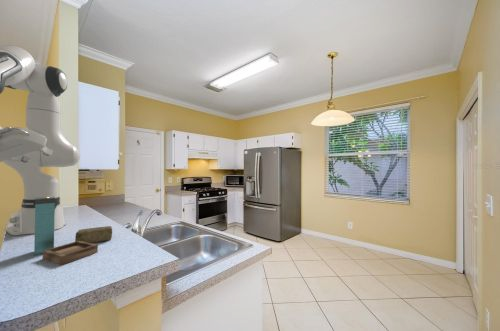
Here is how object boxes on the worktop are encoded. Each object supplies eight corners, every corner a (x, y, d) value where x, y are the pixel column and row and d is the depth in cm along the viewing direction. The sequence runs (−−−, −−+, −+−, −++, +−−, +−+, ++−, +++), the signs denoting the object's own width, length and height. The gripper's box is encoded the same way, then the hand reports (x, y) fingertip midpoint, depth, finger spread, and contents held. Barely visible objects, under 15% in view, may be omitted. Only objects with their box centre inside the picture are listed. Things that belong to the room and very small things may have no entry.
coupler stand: (42, 259, 65) (42, 250, 65) (78, 247, 74) (78, 240, 74) (62, 265, 61) (62, 256, 61) (97, 252, 71) (97, 244, 71)
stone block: (112, 240, 82) (112, 228, 82) (74, 246, 76) (74, 233, 76) (111, 236, 87) (112, 224, 87) (76, 242, 80) (76, 229, 80)
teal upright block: (33, 251, 71) (35, 196, 71) (53, 247, 74) (54, 195, 74) (33, 255, 67) (35, 198, 68) (54, 251, 71) (55, 197, 71)
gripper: (14, 116, 57) (66, 141, 69) (-40, 136, 60) (19, 156, 73) (6, 135, 54) (62, 157, 67) (-50, 155, 58) (13, 172, 70)
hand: (39, 157), depth 70 cm, fingers open, 8 cm apart
